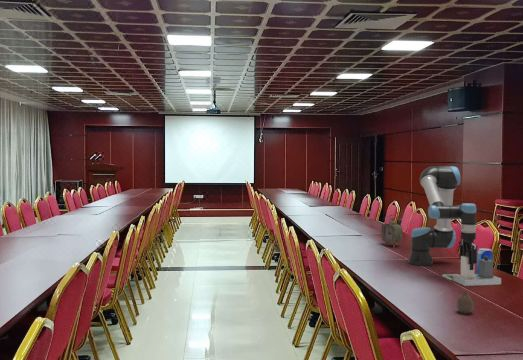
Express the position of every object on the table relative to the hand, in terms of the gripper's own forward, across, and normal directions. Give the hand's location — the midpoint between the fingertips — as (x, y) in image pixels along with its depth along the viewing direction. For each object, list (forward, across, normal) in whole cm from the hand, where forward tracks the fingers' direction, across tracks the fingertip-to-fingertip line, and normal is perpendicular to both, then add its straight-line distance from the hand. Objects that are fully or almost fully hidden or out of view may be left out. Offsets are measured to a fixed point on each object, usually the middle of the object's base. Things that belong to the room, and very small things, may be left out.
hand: (467, 274), depth 267 cm
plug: (+2, 0, 0) cm, 2 cm away
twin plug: (+5, 0, +11) cm, 12 cm away
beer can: (+6, -15, +20) cm, 25 cm away
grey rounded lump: (+6, +45, -30) cm, 55 cm away
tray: (+5, -12, -1) cm, 13 cm away
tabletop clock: (+5, -118, +10) cm, 118 cm away
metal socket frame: (+5, 0, +6) cm, 8 cm away
